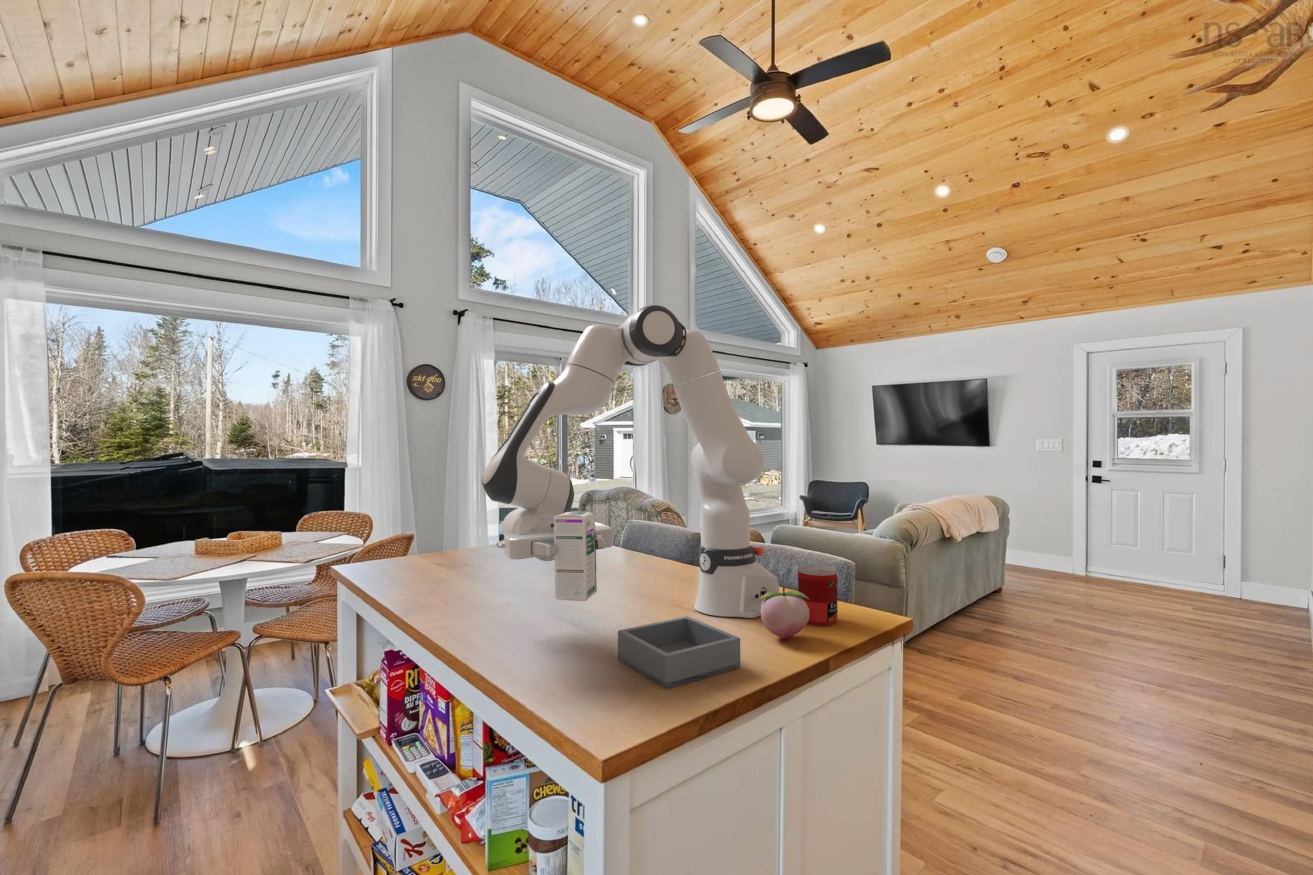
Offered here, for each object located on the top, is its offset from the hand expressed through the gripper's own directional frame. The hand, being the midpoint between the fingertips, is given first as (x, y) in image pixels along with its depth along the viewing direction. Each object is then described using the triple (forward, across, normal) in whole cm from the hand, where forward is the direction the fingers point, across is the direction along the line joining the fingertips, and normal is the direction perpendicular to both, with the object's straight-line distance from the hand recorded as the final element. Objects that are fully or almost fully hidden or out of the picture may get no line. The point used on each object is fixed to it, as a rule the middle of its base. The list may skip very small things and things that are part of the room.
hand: (577, 547), depth 103 cm
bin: (+10, +14, +20) cm, 26 cm away
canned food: (+7, +52, +21) cm, 56 cm away
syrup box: (-1, 0, +9) cm, 9 cm away
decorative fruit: (+11, +38, +20) cm, 44 cm away
